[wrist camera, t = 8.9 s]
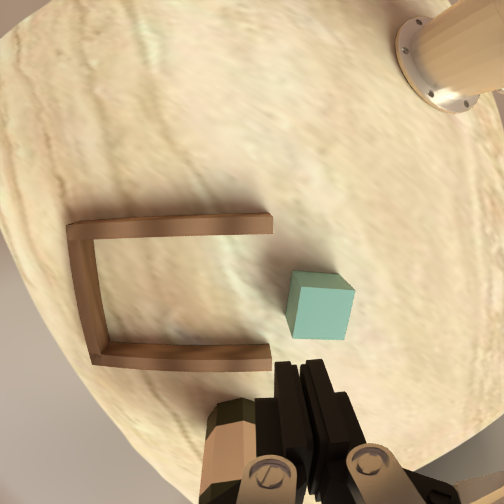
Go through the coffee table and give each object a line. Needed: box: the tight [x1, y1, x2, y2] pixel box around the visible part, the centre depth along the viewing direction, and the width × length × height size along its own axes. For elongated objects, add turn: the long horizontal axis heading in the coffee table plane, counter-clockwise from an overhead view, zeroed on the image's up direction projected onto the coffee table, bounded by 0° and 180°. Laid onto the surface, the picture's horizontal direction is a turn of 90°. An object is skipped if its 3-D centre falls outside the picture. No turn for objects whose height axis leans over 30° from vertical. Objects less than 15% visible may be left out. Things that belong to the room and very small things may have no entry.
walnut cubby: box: [66, 213, 273, 372], centre depth 30 cm, size 20×16×3 cm
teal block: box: [285, 270, 355, 340], centre depth 29 cm, size 5×5×5 cm
